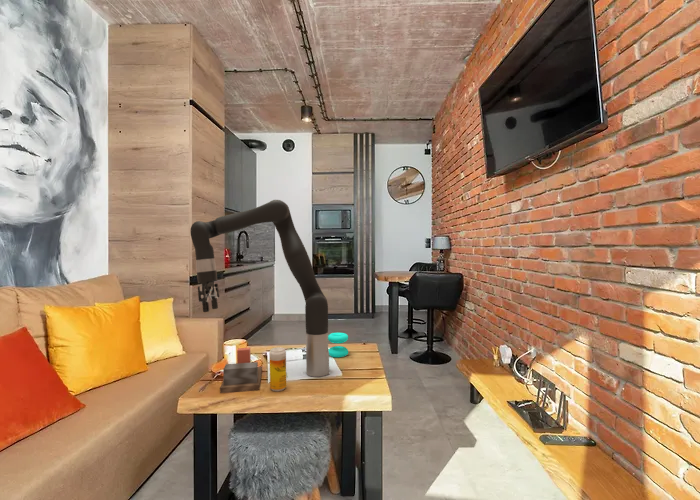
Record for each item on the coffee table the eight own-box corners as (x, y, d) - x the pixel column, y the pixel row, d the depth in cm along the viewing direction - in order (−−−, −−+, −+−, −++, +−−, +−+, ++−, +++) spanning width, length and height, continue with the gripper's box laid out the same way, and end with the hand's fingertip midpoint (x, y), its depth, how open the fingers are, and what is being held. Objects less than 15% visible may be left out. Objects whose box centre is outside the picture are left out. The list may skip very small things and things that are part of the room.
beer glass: (282, 392, 136) (282, 352, 136) (267, 391, 138) (266, 351, 137) (288, 386, 142) (288, 347, 142) (273, 384, 144) (273, 346, 143)
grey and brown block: (262, 371, 158) (261, 352, 158) (259, 390, 139) (258, 369, 138) (228, 373, 156) (227, 354, 156) (220, 393, 136) (219, 371, 136)
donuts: (326, 332, 183) (345, 331, 185) (326, 352, 183) (345, 351, 185) (329, 337, 173) (350, 336, 175) (329, 359, 173) (350, 357, 176)
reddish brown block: (250, 368, 155) (250, 347, 155) (250, 371, 152) (249, 349, 152) (238, 369, 154) (237, 348, 154) (237, 372, 151) (237, 350, 151)
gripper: (208, 270, 143) (212, 312, 143) (222, 268, 157) (226, 306, 157) (189, 272, 143) (193, 314, 143) (205, 270, 158) (209, 308, 157)
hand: (210, 310), depth 150 cm, fingers open, 8 cm apart
